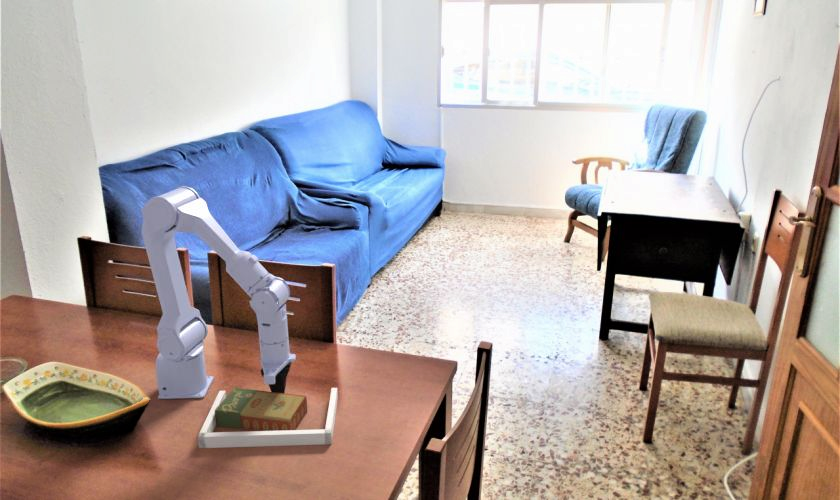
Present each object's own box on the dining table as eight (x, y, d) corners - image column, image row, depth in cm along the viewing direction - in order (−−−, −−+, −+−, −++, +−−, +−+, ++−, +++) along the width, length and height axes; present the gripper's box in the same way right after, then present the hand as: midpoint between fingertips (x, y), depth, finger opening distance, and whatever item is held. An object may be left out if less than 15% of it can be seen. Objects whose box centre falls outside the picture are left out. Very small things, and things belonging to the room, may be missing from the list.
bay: (199, 448, 108) (197, 437, 108) (220, 400, 123) (219, 390, 122) (331, 444, 110) (330, 433, 109) (337, 397, 124) (337, 387, 123)
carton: (291, 438, 112) (290, 419, 111) (215, 427, 115) (212, 409, 114) (308, 412, 120) (306, 394, 118) (235, 403, 123) (233, 385, 121)
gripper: (288, 355, 111) (292, 415, 116) (299, 321, 125) (302, 376, 130) (250, 356, 111) (256, 416, 116) (265, 321, 125) (270, 377, 129)
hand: (278, 395), depth 123 cm, fingers closed
